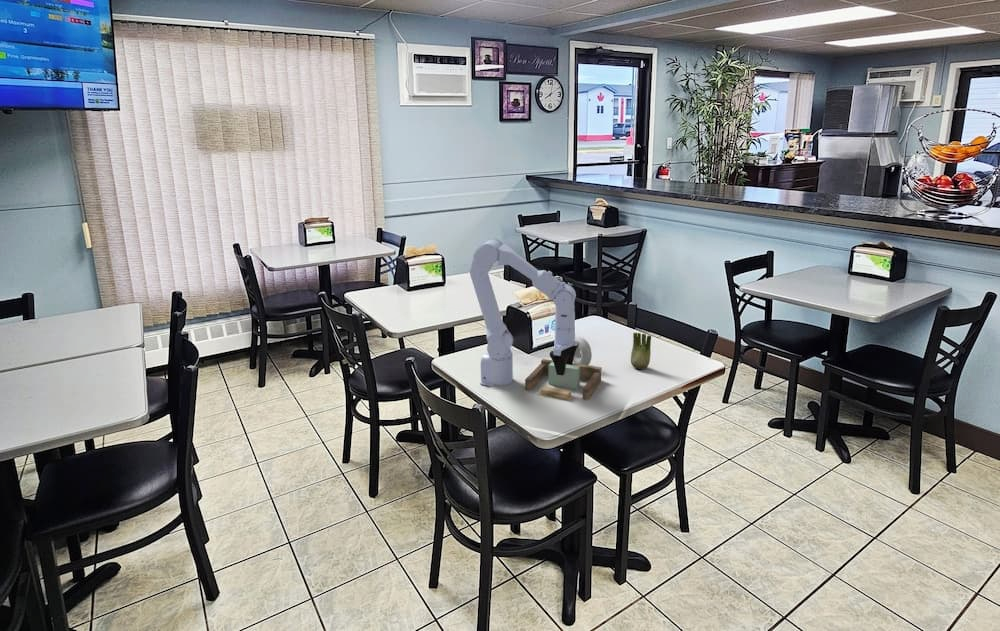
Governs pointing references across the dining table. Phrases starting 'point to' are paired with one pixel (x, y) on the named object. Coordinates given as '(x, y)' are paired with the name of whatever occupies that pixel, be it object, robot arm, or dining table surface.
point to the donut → (582, 352)
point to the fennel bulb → (641, 351)
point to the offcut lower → (555, 397)
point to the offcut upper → (555, 392)
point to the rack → (585, 374)
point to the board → (565, 376)
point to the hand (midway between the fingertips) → (564, 369)
